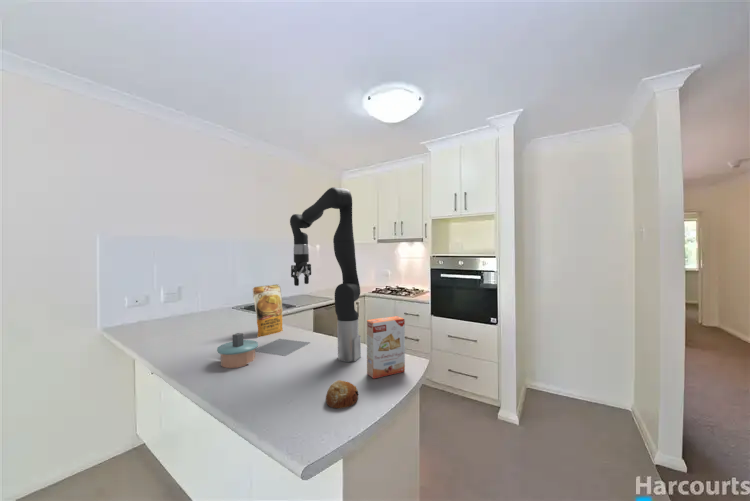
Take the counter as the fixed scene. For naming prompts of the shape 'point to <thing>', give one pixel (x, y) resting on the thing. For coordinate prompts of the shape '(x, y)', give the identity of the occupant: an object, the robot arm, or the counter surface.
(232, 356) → the bowl
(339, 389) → the bread roll
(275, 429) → the counter surface
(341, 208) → the robot arm
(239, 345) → the lid
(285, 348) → the mat
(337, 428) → the counter surface
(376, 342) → the cracker box
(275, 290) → the pancake mix bag
